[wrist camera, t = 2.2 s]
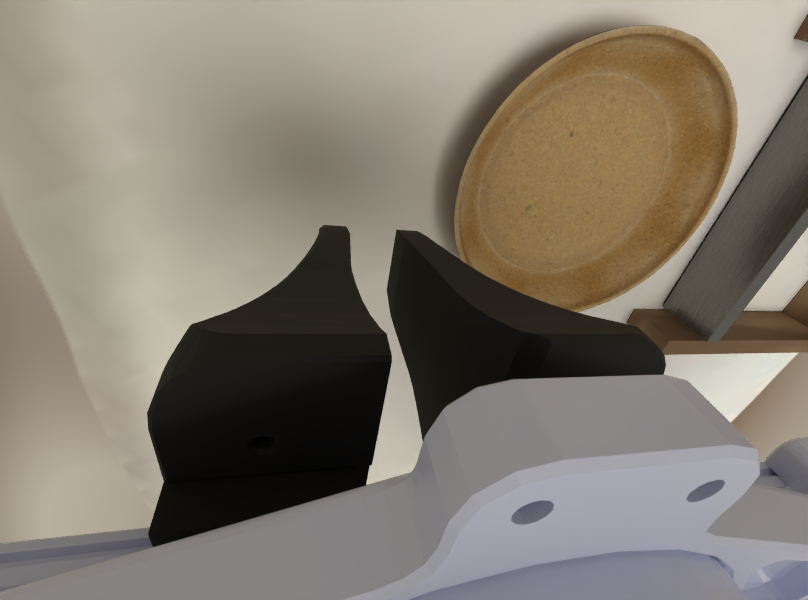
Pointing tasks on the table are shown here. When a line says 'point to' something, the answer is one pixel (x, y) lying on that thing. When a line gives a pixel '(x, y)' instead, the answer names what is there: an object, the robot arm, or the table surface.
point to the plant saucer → (598, 166)
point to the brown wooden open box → (750, 333)
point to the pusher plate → (749, 232)
